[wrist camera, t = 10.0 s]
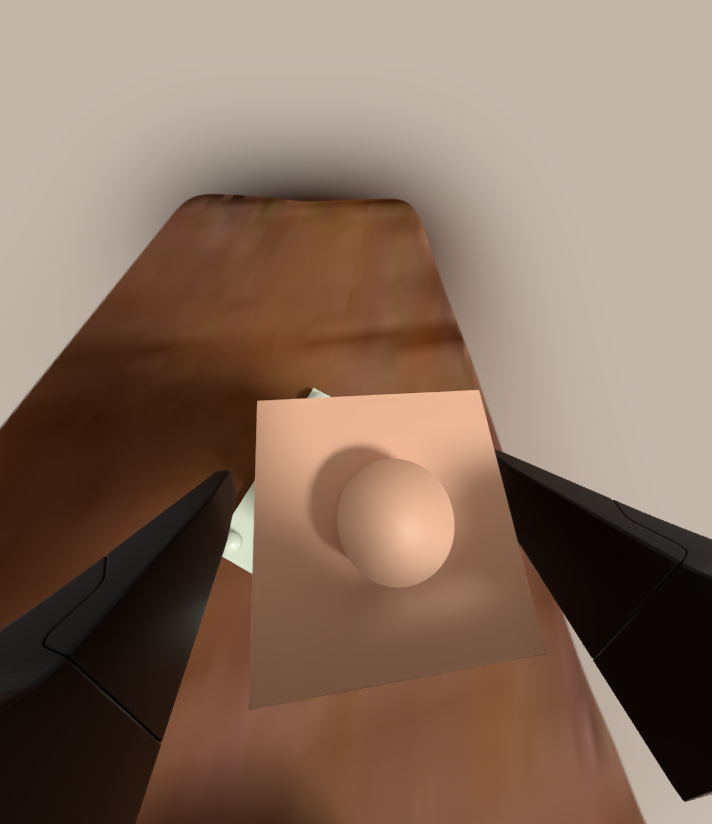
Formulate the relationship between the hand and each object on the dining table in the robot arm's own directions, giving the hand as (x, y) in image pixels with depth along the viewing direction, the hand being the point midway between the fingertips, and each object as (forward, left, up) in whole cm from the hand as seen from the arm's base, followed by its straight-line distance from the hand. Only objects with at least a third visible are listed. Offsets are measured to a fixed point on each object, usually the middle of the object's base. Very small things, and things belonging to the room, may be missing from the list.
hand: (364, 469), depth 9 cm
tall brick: (-1, +1, -8) cm, 8 cm away
